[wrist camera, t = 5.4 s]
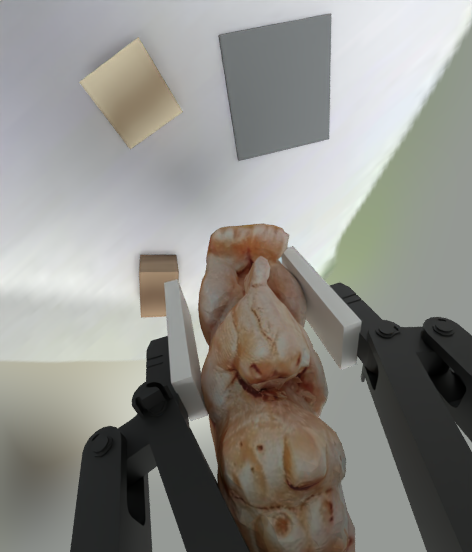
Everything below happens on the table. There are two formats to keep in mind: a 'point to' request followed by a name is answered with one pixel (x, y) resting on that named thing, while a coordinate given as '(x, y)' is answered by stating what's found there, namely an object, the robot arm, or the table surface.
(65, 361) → the table surface
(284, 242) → the figurine
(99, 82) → the beech block
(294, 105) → the grey mat
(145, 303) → the walnut block
